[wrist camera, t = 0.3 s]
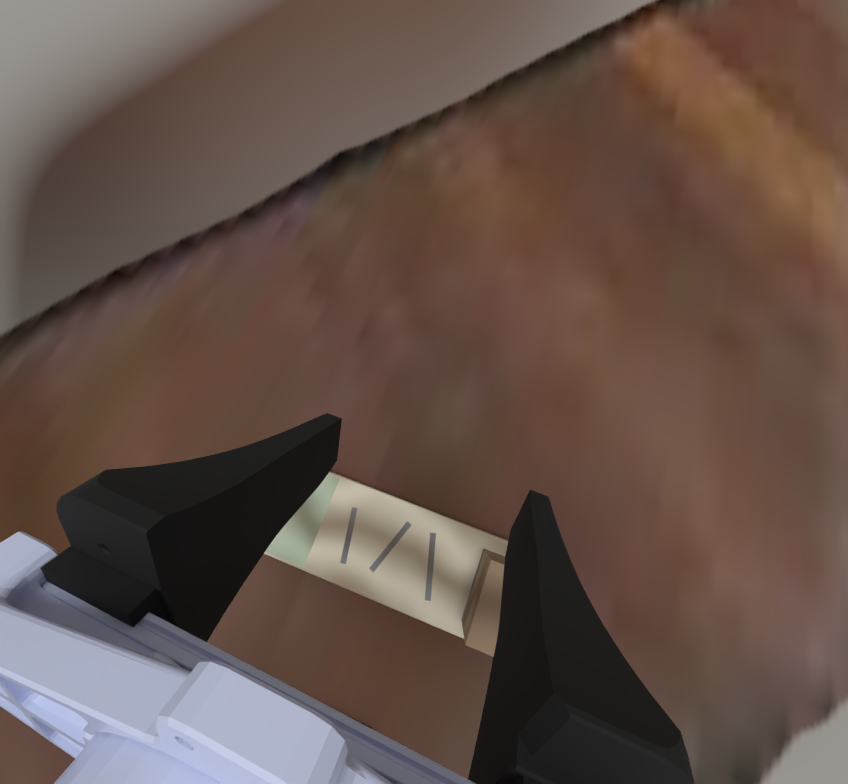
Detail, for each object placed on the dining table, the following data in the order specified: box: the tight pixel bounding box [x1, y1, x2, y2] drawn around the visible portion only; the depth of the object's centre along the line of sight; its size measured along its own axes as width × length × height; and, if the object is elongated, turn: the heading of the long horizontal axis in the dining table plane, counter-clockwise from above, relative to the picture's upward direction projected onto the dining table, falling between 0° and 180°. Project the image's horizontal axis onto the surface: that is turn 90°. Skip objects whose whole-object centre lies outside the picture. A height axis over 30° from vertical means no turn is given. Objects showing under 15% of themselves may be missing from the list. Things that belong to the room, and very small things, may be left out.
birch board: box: [264, 472, 509, 639], centre depth 39 cm, size 10×28×2 cm, turn 70°
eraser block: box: [461, 548, 505, 657], centre depth 34 cm, size 7×5×6 cm
